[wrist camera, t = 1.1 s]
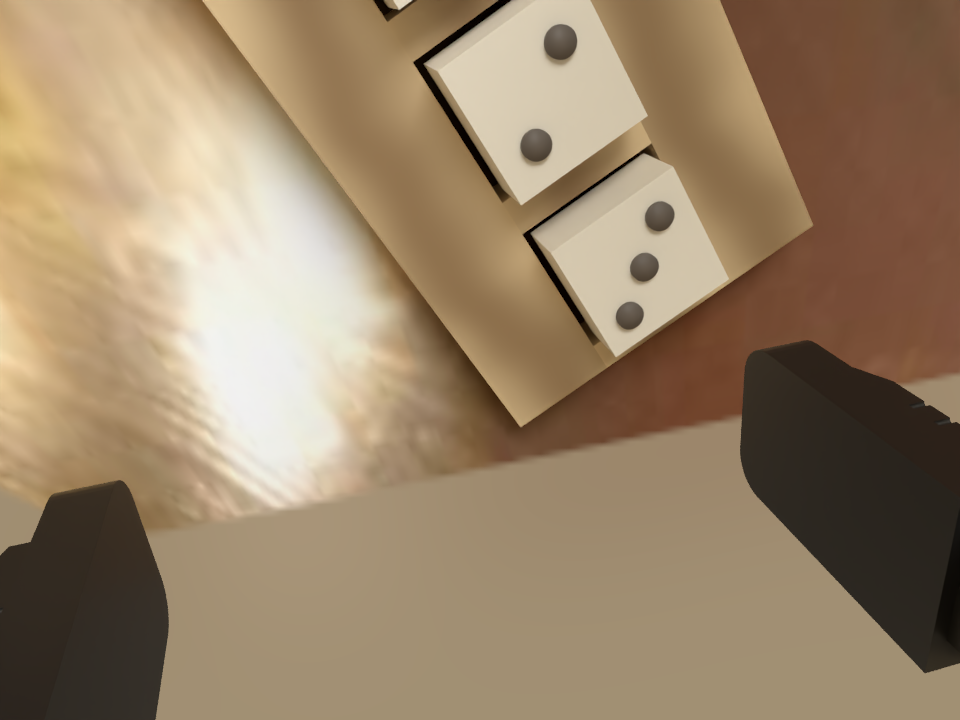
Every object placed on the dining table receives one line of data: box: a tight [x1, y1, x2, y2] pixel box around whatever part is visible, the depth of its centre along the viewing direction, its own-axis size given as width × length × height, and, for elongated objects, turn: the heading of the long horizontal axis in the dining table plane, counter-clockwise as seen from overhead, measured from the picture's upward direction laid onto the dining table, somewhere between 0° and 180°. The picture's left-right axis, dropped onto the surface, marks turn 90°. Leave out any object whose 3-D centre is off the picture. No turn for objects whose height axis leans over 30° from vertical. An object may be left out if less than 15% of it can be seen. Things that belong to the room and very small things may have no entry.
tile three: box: [530, 153, 729, 357], centre depth 29 cm, size 5×5×3 cm
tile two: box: [424, 0, 648, 205], centre depth 26 cm, size 5×5×3 cm
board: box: [202, 0, 813, 427], centre depth 28 cm, size 14×22×2 cm, turn 33°
